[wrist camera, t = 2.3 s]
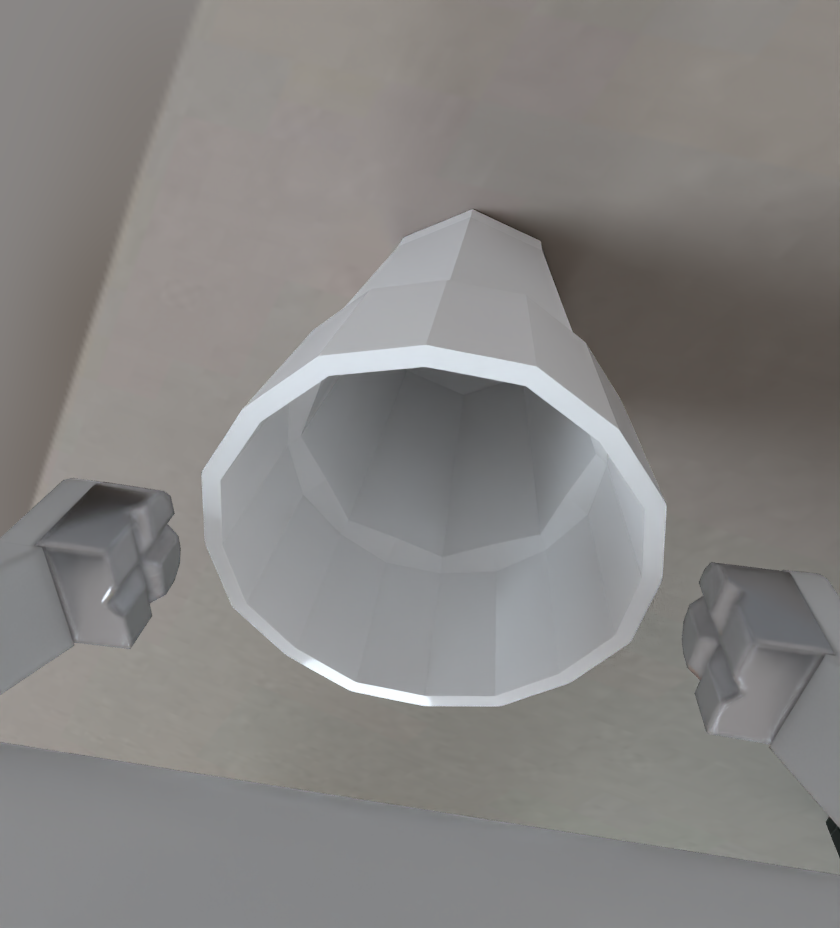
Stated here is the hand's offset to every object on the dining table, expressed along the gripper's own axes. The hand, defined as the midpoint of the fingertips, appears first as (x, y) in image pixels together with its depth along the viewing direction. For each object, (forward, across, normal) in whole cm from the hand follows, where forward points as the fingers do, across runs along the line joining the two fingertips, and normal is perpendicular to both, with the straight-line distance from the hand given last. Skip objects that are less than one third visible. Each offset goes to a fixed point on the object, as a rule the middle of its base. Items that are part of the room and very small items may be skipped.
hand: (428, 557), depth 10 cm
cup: (+11, 0, 0) cm, 11 cm away
